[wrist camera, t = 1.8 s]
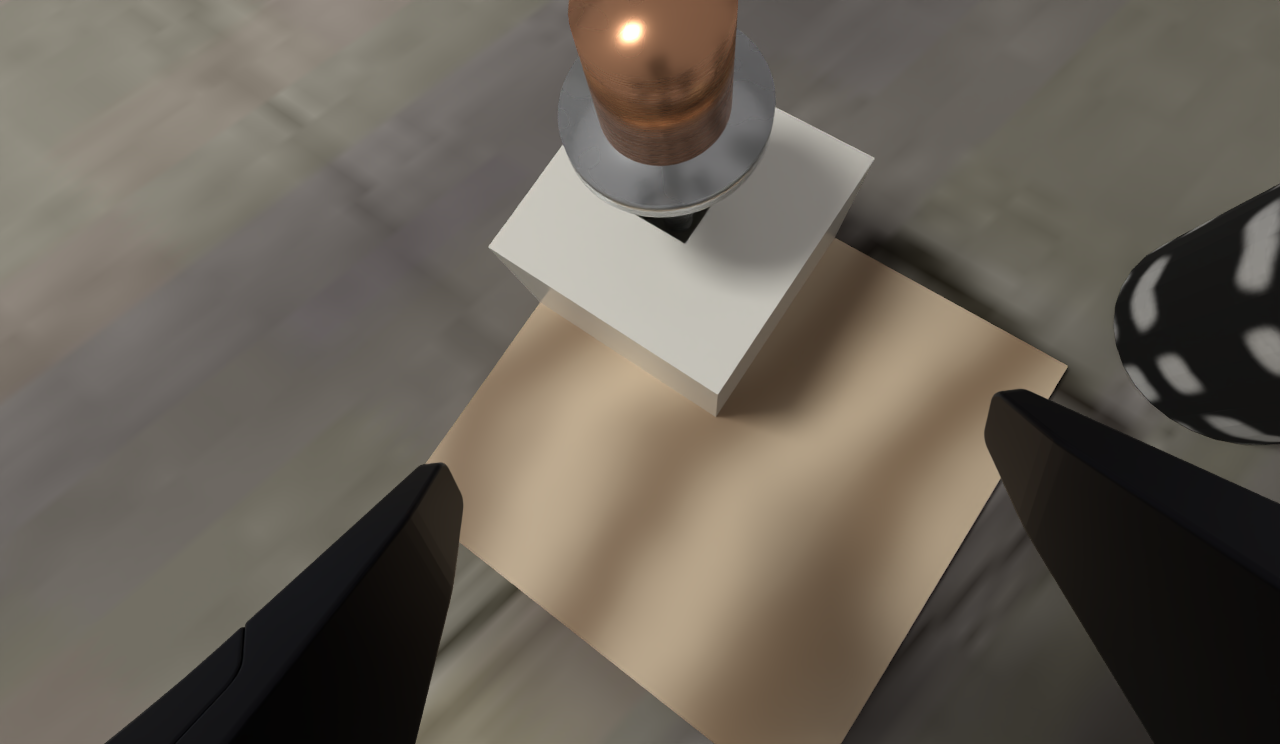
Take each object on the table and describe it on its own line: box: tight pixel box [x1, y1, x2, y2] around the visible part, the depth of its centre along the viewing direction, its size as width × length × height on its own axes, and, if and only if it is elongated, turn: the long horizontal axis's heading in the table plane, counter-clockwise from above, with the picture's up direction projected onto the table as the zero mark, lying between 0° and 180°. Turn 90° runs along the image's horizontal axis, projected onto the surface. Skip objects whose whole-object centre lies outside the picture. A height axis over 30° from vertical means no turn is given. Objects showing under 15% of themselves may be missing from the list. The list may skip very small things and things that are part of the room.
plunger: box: [558, 0, 776, 233], centre depth 15 cm, size 5×5×9 cm
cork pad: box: [426, 238, 1068, 744], centre depth 23 cm, size 19×19×1 cm
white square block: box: [489, 107, 875, 417], centre depth 22 cm, size 9×9×6 cm
